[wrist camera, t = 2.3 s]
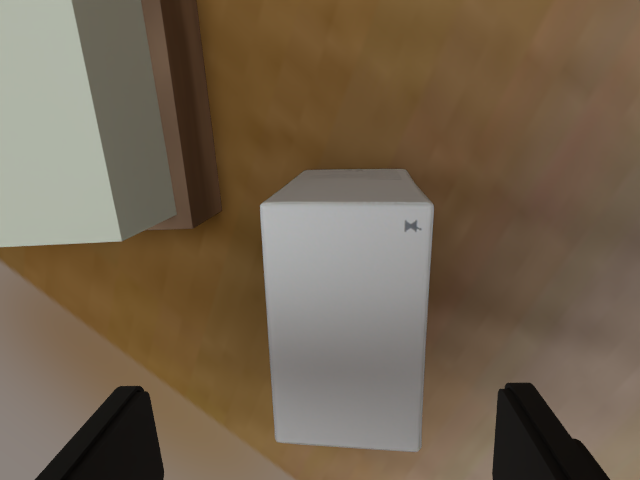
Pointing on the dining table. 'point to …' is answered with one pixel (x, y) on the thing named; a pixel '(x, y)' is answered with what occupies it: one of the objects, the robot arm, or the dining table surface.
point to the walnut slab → (183, 110)
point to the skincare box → (348, 307)
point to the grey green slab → (78, 124)
